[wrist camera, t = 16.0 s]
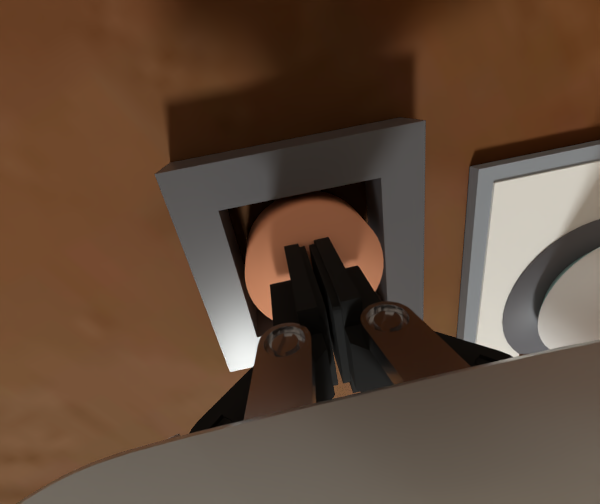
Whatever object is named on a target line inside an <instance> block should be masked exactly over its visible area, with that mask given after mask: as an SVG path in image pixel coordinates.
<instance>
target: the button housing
mask: <svg viewBox="0 0 600 504" xmlns="http://www.w3.org/2000/svg"><path fill="white" fill-rule="evenodd" d="M425 122H426V120H418V119H411V118H403V117H399V118H394V119H389V120H384V121H379V122H374V123H369V124H364V125H359V126H354V127H348V128H343V129H338V130H333V131H328V132H323V133H318V134H313V135H308V136H303V137H298V138H293V139H288V140H283V141H278V142H272V143H267V144H262V145H257V146H252V147H247V148H242V149H237V150H232V151H227V152H222V153H217V154H212V155H207V156H202V157H196V158H191V159H186V160H181V161H176V162H171V163H169V164H168V165H166V166H165V167H164V168H162V169H161V170H160V171H158V172H157V173H156V174H155V176H156V179H157V182H158V184H159V187H160V190H161V192H162V195H163V197H164V200H165V203H166V205H167V208H168V210H169V213H170V216H171V218H172V221H173V224H174V226H175V229H176V231H177V234H178V237H179V239H180V242H181V245H182V247H183V250H184V252H185V255H186V258H187V260H188V263H189V265H190V268H191V271H192V273H193V276H194V279H195V281H196V284H197V286H198V289H199V292H200V294H201V297H202V300H203V302H204V305H205V307H206V310H207V313H208V315H209V318H210V320H211V323H212V326H213V328H214V331H215V334H216V336H217V339H218V341H219V344H220V347H221V349H222V352H223V355H224V357H225V360H226V362H227V365H228V368H229V370H230V372H232V371H237V370H241V369H246V368H250V367H253V366H254V363H255V357H256V352H257V347H258V343H259V340H260V338H261V336H262V335H263V334H264V333H265V332H266V331H267V330H269V329H270V328H272V327H273V320H271V319H270V318H268V317H267V316H266V315H264V314H263V313H262V312H261V311H260V310H259V309H257V308H256V305H255V304H254V303H253V301H252V299H251V297H250V295H249V293H248V290H247V287H246V282H245V267H244V264H243V260H242V257H241V253H240V250H239V246H238V243H237V239H236V236H235V233H234V229H233V226H232V222H231V219H230V215H229V212H228V209H230V208H235V207H240V206H245V205H249V204H254V203H259V202H264V201H269V200H274V199H279V198H284V197H289V196H294V195H298V194H303V193H308V192H313V191H318V190H323V189H328V188H333V187H338V186H343V185H347V184H352V183H357V182H362V181H365V190H366V203H367V216H368V225H369V226H370V228H371V229H372V230H373V231H374V233H375V234H376V236H377V238H378V240H379V242H380V244H381V248H382V251H383V259H384V261H383V273H382V277H381V280H380V283H379V285H378V288H377V290H376V291H375V293H376V294H377V296H378V298H379V299H380V301H381V302H382V301H392V302H398V303H400V304H403V305H405V306H407V307H408V308H410V309H411V310H412V311H413V312H414V313H415V314H416V315H417V316H418V317H419V318H421V319H422V320H423V288H424V205H425Z"/></svg>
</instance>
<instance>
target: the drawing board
mask: <svg viewBox="0 0 600 504" xmlns="http://www.w3.org/2000/svg"><path fill="white" fill-rule="evenodd" d="M599 247H600V140H597V141H592V142H587V143H582V144H577V145H572V146H567V147H563V148H558V149H553V150H548V151H543V152H538V153H533V154H528V155H524V156H519V157H514V158H509V159H504V160H499V161H494V162H489V163H484V164H480V165H475V166H470V172H469V185H468V198H467V211H466V224H465V237H464V250H463V263H462V276H461V289H460V302H459V315H458V328H457V338H459V339H462V340H465V341H469V342H472V343H475V344H479V345H482V346H485V347H489V348H492V349H495V350H499V351H501V352H504V353H506V354H509V355H511V356H512V357H517V356H519V354H531V353H536V352H540V351H545V350H549V348H548V347H546V346H545V345H544V343H543V342H542V340H541V339H540V336H539V333H538V318H539V312H540V308H541V305H542V303H543V299H544V297H545V294H546V292H547V290H548V289H549V287H550V285H551V284H552V282H553V281H554V280H555V279H556V277H557V276H558V275H559V274H560V273H561V272H562V271H563V270H564V269H565V268H566V267H568V266H569V265H570V264H571V263H573V262H574V261H575V260H577V259H578V258H580V257H582V256H583V255H585V254H587V253H589V252H591V251H593V250H595V249H597V248H599Z"/></svg>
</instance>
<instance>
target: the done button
mask: <svg viewBox="0 0 600 504" xmlns="http://www.w3.org/2000/svg"><path fill="white" fill-rule="evenodd" d="M326 237H329V239H330V241H331V242H332V244H333V246H334V248H335V250H336V252H337V254H338V255H339V257H340V259H341V261H342V263H343V265H344V267H345V268H348V267H352V266H359V267H360V269H361V271H362V272H363V274H364V275H365V277H366V279H367V280H368V282H369V283H370V285H371V286H372V288H373V290H374V291H376V290H377V288H378V285H379V283H380V280H381V277H382V273H383V261H384V259H383V251H382V248H381V244H380V242H379V240H378V238H377V236H376V234H375V233H374V231H373V230H372V229H371V228H370V226H369V225H368V224H367V223H366V222H365V221H364V220H363V219H362V217H361V216H360V215H359V214H358V213H357V212H356V211H355V210H354V209H353V207H352V206H351V205H349V204H348V203H347V202H346V201H344V200H342V199H341V198H339V197H337V196H335V195H332V194H329V193H325V192H320V191H313V192H308V193H303V194H298V195H294V196H289V197H284V198H280V199H278V200H276V201H274V202H273V203H271V204H270V205H269V206H268V207H266V208H265V209H264V210H263V211H262V212H261V213H260V215H259V216H258V217H257V219H256V220H255V222H254V223H253V225H252V227H251V230H250V232H249V235H248V239H247V246H246V261H245V282H246V287H247V290H248V293H249V295H250V297H251V299H252V301H253V303H254V304H255V305H256V306H257V308H258V309H259V310H260V311H261V312H262V313H263V314H264V315H266V316H267V317H268V318H270V319H271V320H273V317H272V305H271V294H270V284H274V283H279V282H283V281H288V280H290V275H289V270H288V265H287V260H286V255H285V250H284V246H288V245H293V244H297V243H298V245H299V247H302V246H305V248H306V251H307V254H308V257H309V260H310V263H311V266H312V261H311V255H310V249H309V245H311V244H314V240H316V239H321V238H326ZM312 269H313V267H312Z"/></svg>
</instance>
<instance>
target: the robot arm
mask: <svg viewBox="0 0 600 504" xmlns="http://www.w3.org/2000/svg"><path fill="white" fill-rule="evenodd" d="M309 249H310V255H311V261H312V266H311V263H310V260H309V257H308V254H307V251H306V248H305V246H302V247H299V245H298V243H297V244H293V245H288V246H284V250H285V255H286V260H287V265H288V270H289V275H290V280H288V281H283V282H279V283H274V284H270V294H271V305H272V317H273V327H272V328H270V329H269V330H267V331H266V332H265V333H264V334H263V335H262V336H261V338H260V340H259V343H258V347H257V352H256V357H255V363H254V366H253V367H252V368H251V369H250V370H249V371H248V372H247V373H246V374H245V375H244V376H243V377H242V378H241V379H240V380H239V381H238V382H237V383H236V384H235V385H234V386H233V387H232V388H231V389H230V390H229V391H228V392H227V393H226V394H225V395H224V396H223V397H222V398H221V399H220V400H219V401H218V402H217V403H216V404H215V405H214V406H213V407H212V408H211V409H210V410H209V411H208V412H207V413H206V414H205V415H204V416H203V417H202V418H201V419H200V420H199V421H198V422H197V423H196V424H195V426H194V427H193V428H192V429H191V431H190V433H189V434H186V435H182V436H180V434H177V435H175V436H173V437H171V438H168V439H166V440H163V441H159V442H156V443H152V444H148V445H145V446H141V447H138V448H134V449H131V450H127V451H123V452H120V453H117V454H114V455H112V456H109V457H106V458H103V459H100V460H98V461H95V462H92V463H90V464H88V465H85V466H83V467H81V468H79V469H77V470H74V471H72V472H70V473H68V474H66V475H63V476H61V477H60V478H58V479H56V480H54V481H53V482H51V483H49V484H47V485H46V486H44V487H42V488H40V489H39V490H37V491H35V492H33V493H31V494H30V495H28V496H27V497H25V498H24V499H22V500H21V501H19V502H18V503H16V504H600V340H594V341H589V342H584V343H578V344H573V345H568V346H563V347H558V348H553V349H549V350H545V351H540V352H536V353H531V354H519V356H517V357H512V356H511V355H509V354H506V353H504V352H501V351H499V350H495V349H492V348H489V347H485V346H482V345H479V344H475V343H472V342H469V341H465V340H462V339H459V338H455V337H452V336H448V335H445V334H442V333H438V332H435V331H433V330H432V329H431V328H430V327H429V326H428V325H427V324H426V323H425V322H424V321H423V320H422V319H421V318H419V317H418V316H417V315H416V314H415V313H414V312H413V311H412V310H411V309H410V308H408V307H407V306H405V305H403V304H400V303H398V302H392V301H382V302H381V301H380V299H379V298H378V296H377V294H376V293H375V291H374V290H373V288H372V286H371V285H370V283H369V282H368V280H367V279H366V277H365V275H364V274H363V272H362V271H361V269H360V267H359V266H352V267H348V268H345V267H344V265H343V263H342V261H341V259H340V257H339V255H338V254H337V252H336V250H335V248H334V246H333V244H332V242H331V241H330V239H329V237H326V238H321V239H316V240H314V244H311V245H309ZM312 267H313V269H312ZM333 352H334V355H333ZM334 356H335V359H336V362H337V365H338V368H339V371H340V375H341V378H342V381H343V383H347V382H350V385H351V388H352V391H353V393H355V392H359V391H360V392H361V393H356V394H352V395H348V396H344V397H339V398H335V399H332V398H333V397H334V395H335V393H334V387H333V386H334V385H338V380H337V374H336V368H335V361H334Z"/></svg>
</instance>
